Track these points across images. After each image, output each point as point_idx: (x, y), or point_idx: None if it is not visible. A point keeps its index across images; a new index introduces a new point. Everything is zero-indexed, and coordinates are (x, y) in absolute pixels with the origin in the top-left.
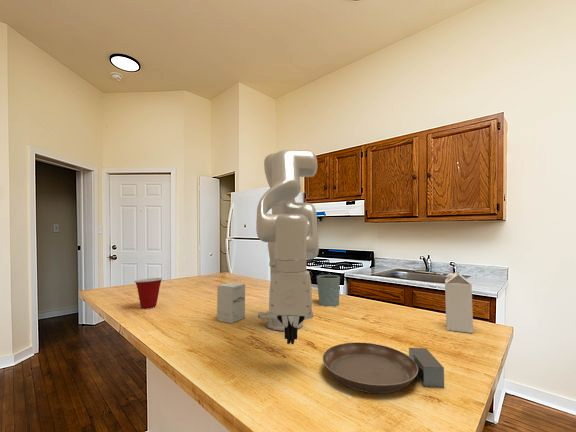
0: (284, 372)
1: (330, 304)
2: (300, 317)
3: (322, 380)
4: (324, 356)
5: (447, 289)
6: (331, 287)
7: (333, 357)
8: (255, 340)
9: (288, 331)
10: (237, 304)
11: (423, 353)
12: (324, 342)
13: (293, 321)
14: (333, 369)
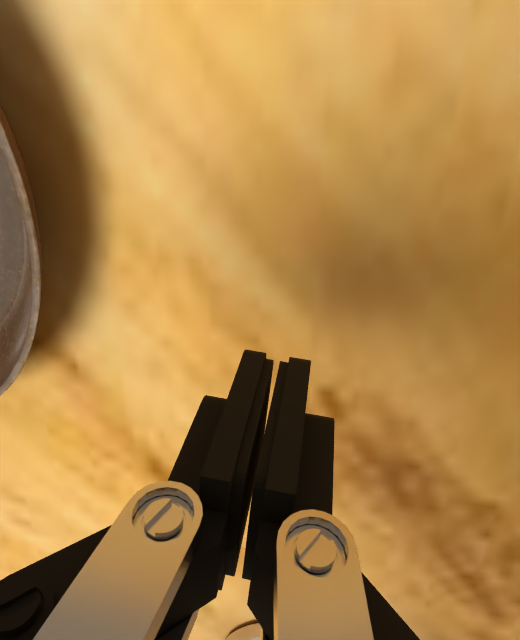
0: (345, 192)
1: None
2: (31, 632)
3: (68, 56)
4: (33, 270)
5: None
6: None
7: (19, 321)
8: (482, 576)
9: (281, 449)
10: None
11: None
12: (113, 504)
13: (174, 575)
14: (8, 193)
